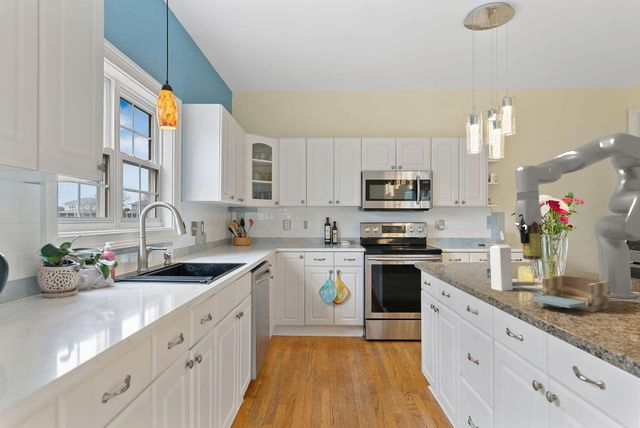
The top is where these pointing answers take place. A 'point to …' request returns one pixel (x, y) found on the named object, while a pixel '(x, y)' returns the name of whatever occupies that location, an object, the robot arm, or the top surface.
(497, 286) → the milk
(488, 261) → the coffee box
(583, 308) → the cabinet
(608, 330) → the top surface
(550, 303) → the door
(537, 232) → the sauce bottle
